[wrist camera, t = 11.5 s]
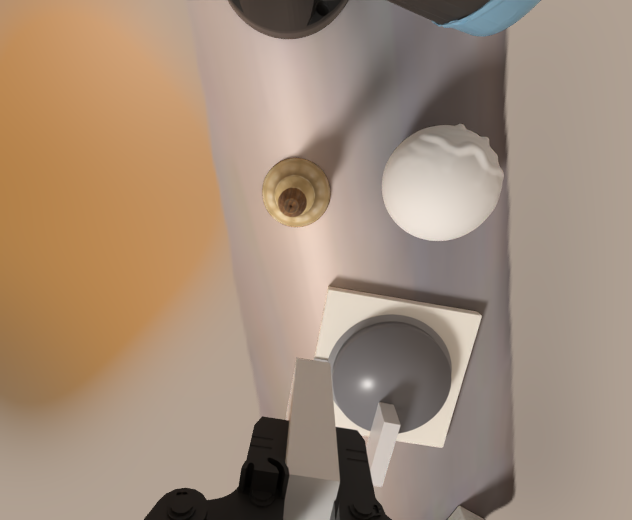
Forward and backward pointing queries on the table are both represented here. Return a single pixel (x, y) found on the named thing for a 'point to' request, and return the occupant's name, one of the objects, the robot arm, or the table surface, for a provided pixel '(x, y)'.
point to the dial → (390, 385)
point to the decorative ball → (442, 182)
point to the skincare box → (463, 515)
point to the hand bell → (296, 192)
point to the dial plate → (438, 321)
